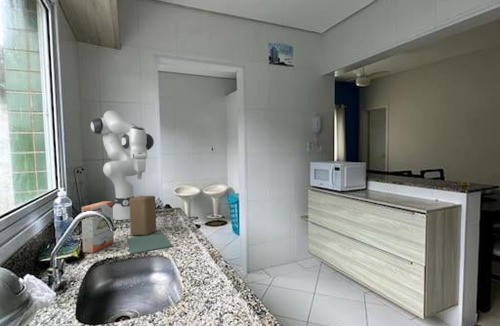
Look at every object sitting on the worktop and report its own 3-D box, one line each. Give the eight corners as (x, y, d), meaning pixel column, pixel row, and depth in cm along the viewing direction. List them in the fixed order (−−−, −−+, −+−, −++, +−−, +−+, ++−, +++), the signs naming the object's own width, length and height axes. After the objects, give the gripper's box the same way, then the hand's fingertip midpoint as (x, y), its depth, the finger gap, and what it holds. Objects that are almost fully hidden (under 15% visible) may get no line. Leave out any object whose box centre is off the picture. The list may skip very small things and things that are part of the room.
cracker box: (94, 253, 118) (92, 207, 116) (82, 252, 118) (80, 206, 117) (115, 242, 131) (113, 201, 130) (104, 242, 132) (102, 200, 131)
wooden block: (146, 236, 139) (145, 198, 139) (129, 235, 141) (128, 198, 141) (157, 230, 149) (155, 195, 148) (141, 230, 151) (139, 195, 150)
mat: (126, 239, 135) (126, 238, 135) (163, 233, 144) (162, 232, 144) (130, 254, 116) (130, 253, 116) (172, 246, 125) (172, 245, 125)
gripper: (131, 155, 160) (131, 177, 160) (134, 155, 142) (135, 181, 143) (142, 154, 163) (143, 177, 163) (147, 155, 145) (148, 180, 146)
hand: (139, 179), depth 153 cm, fingers closed
